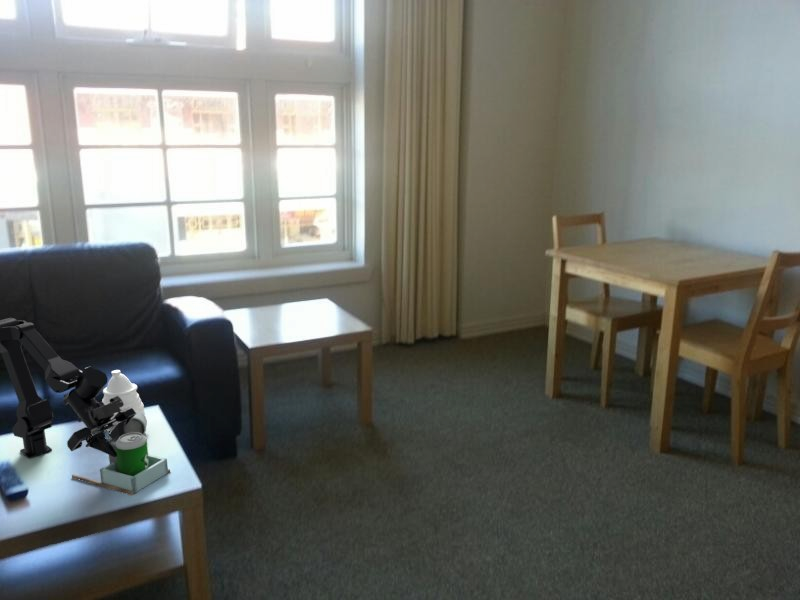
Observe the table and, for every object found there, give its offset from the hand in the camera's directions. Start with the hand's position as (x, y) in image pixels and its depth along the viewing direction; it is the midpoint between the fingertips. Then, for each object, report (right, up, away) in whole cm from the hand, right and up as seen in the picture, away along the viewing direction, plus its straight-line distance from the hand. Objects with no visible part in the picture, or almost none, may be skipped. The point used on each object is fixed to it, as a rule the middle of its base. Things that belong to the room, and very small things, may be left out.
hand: (121, 453), depth 175 cm
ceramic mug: (-8, -1, +24) cm, 26 cm away
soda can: (+4, -7, 0) cm, 8 cm away
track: (-1, -6, +2) cm, 7 cm away
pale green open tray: (+3, -6, 0) cm, 7 cm away
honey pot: (-14, +1, +35) cm, 37 cm away
